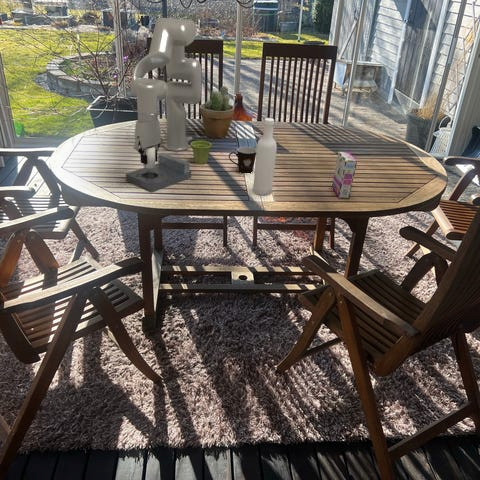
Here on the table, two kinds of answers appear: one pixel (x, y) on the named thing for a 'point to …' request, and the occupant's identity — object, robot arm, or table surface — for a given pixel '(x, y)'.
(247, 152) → the coffee mug
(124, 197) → the table surface
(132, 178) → the jig
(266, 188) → the bottle
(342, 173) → the candy bar box
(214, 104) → the potted plant
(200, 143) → the plant pot
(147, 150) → the bushing
